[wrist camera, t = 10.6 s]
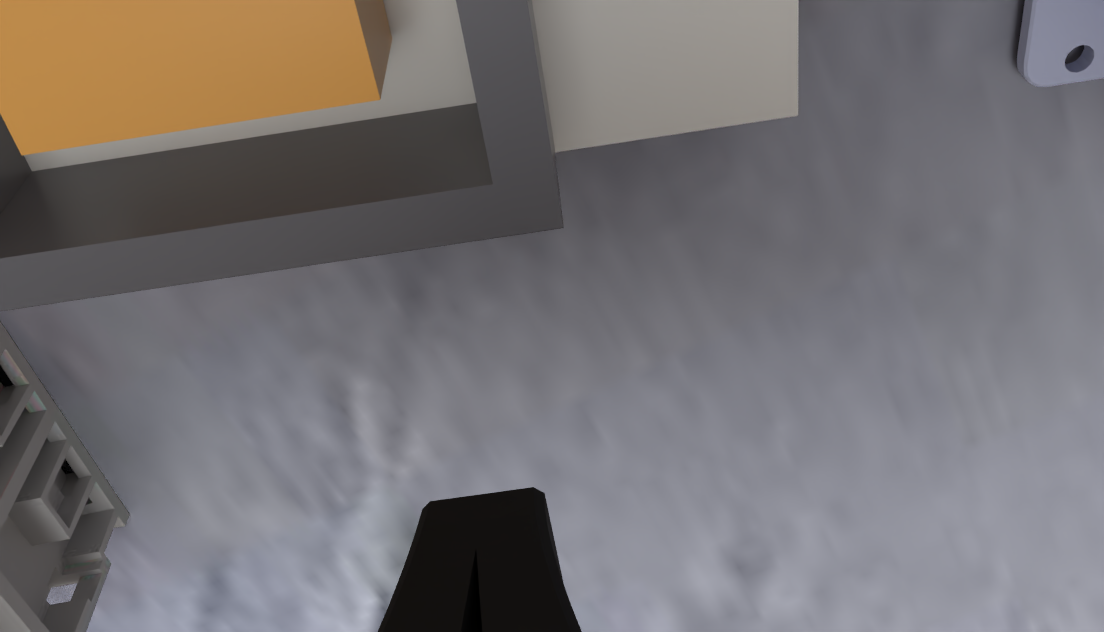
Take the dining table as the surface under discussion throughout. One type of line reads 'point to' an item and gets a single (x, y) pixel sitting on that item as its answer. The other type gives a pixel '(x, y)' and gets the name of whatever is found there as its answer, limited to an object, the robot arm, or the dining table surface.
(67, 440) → the circuit breaker
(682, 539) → the dining table surface
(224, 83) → the button
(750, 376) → the dining table surface
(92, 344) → the dining table surface
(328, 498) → the dining table surface
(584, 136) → the slider control box
